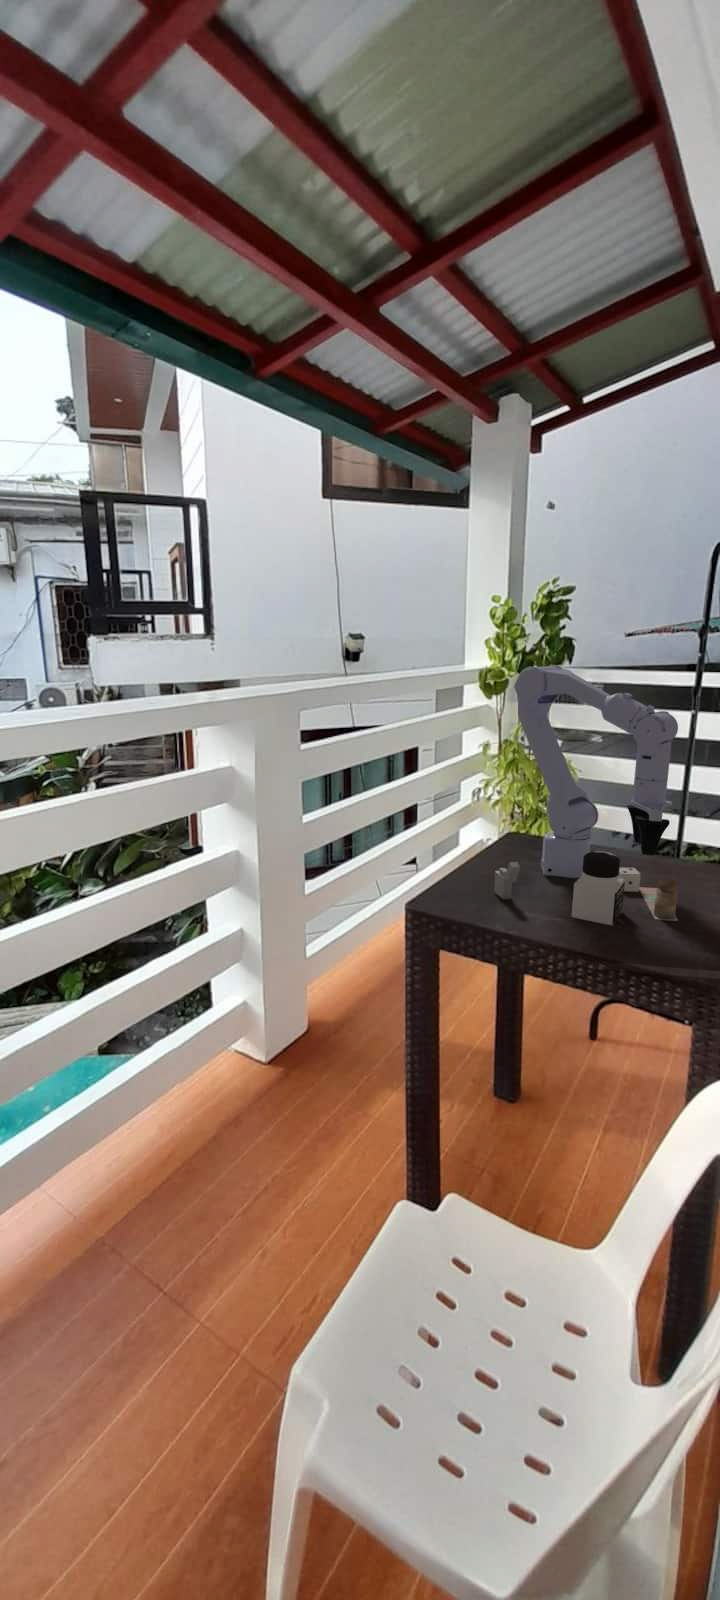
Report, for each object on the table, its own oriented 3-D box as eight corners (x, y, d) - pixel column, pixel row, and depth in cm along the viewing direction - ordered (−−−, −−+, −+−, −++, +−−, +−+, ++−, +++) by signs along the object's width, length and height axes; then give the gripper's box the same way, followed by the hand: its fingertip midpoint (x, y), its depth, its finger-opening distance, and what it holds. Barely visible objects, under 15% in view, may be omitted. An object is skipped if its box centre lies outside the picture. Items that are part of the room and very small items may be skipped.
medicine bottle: (612, 930, 119) (618, 863, 116) (570, 921, 123) (575, 856, 120) (622, 916, 125) (627, 852, 122) (581, 908, 129) (586, 845, 126)
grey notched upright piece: (493, 891, 137) (495, 852, 135) (501, 891, 137) (503, 852, 135) (510, 905, 130) (512, 864, 128) (518, 904, 130) (520, 863, 129)
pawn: (655, 918, 122) (660, 880, 120) (652, 911, 125) (655, 873, 123) (676, 920, 121) (681, 881, 119) (672, 912, 124) (676, 875, 122)
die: (620, 891, 134) (621, 873, 133) (613, 884, 138) (615, 867, 137) (639, 891, 134) (640, 873, 133) (632, 885, 138) (634, 867, 137)
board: (629, 924, 121) (630, 920, 121) (613, 887, 139) (613, 882, 139) (681, 928, 120) (682, 923, 119) (658, 890, 137) (658, 885, 137)
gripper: (683, 787, 122) (675, 861, 125) (665, 771, 136) (658, 838, 139) (640, 785, 123) (633, 859, 126) (626, 770, 137) (621, 836, 140)
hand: (644, 848), depth 133 cm, fingers open, 7 cm apart
